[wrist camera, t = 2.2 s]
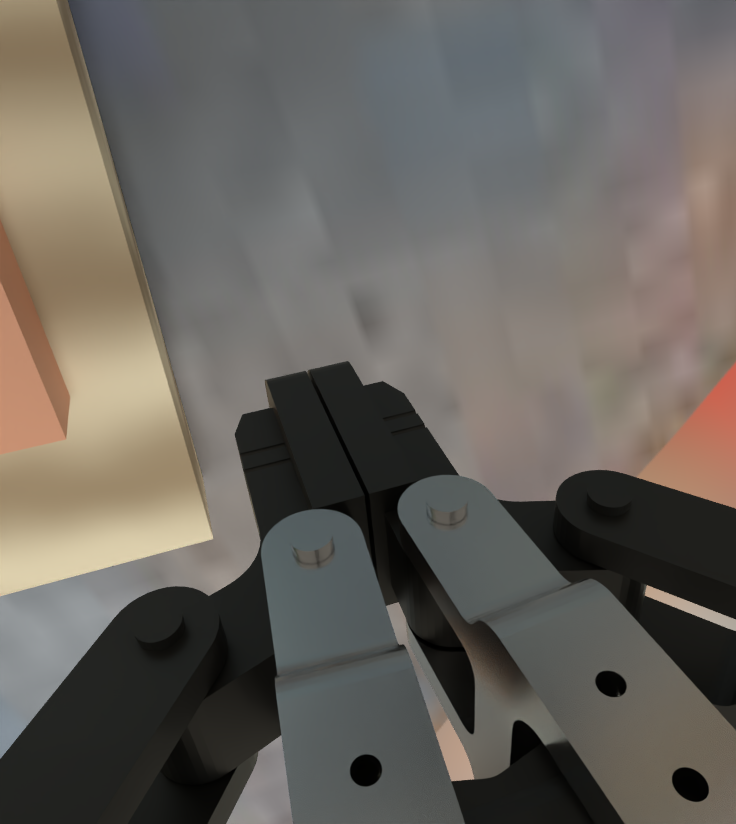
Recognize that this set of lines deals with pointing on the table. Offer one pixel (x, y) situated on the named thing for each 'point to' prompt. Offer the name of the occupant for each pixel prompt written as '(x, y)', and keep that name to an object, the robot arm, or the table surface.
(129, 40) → the table surface
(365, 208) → the table surface
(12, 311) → the salmon orange block
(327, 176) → the table surface
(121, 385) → the deck
